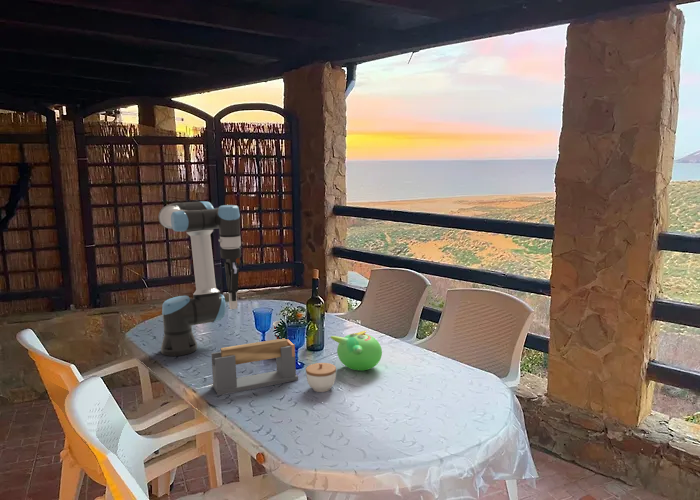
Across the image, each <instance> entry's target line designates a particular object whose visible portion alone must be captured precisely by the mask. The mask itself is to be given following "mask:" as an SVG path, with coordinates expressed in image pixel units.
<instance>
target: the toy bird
mask: <svg viewBox="0 0 700 500" xmlns="http://www.w3.org/2000/svg"><path fill="white" fill-rule="evenodd" d="M366 332H367V330H362V331H358V332H354V333H350V334H347V335H345V336H344V337H343V336H342V337H341V336H338V335H337V336H336V335H331V336H330V339H332V340H333V341H334V342H336V343H338V345H337V349H336V354H337V357H338V359H339V361H340V363H342V364H343V365H344V366H345V367H346V368H348V369H350V370H353V371H358V372H359V371H368V370H370V369H373V368H374V367H376V366H377V365H378V363H380V361H381V359H382V356H383V355H382V354H383V351H382V345H381V344H380V342H379V341H378V340H377V339H376V338H375V337H374V336H372V335H370V334H368V333H366Z"/></svg>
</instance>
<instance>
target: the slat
mask: <svg viewBox="0 0 700 500" xmlns="http://www.w3.org/2000/svg"><path fill="white" fill-rule="evenodd" d="M286 346H288V343H287V339H285V338H282V339H277V338H276V339H271V340H263V341H257V342H251V343H244V344H239V345H237V344H236V345H232V346H226V347H221V348H220V352H221V357H225V356H231V355H235V361H236V366H237V365H242V364H247V363H252V362H259V361H265V360H270V359H276V358H278V357H281V350H280V347H286Z"/></svg>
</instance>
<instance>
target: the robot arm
mask: <svg viewBox="0 0 700 500" xmlns="http://www.w3.org/2000/svg"><path fill="white" fill-rule="evenodd" d="M240 217H241V214H240V208H239V206H238V205H235V204H223V205H220V206H218V207H215V208H214V206H213V204H212V203H211V202H209V201H200V200H199V201H186V202H173V203H169V204H167V205H165V206H163V207H162V208H161V210H159V213H158V222H159V224H160V225H161V226H162V227H164V228H166V229H170V230H173V231H174V232H182V233H183V232H186V234H187V235H188V236H189V237H190V242H191V254H192V260H193V262H192V263H193V271H194V280H195V281H194V282H195V291H194V293H192V294H193V295H192V296H193V298H190V297H189V295H179V296H174V297H172V298H171V297H170V298H168V299H166V300H164V302H163V303H162V305H161V307H162V308H161V309H162V311H161V315H162V322H163V323H162V324H163V337H162V338H163V339H162V342H161V347H160V350H161V351H160V352H161V354H162V355H164V356H167V357H168V356H169V357H177V356H184V355H189V354H192V353H194V352H196V351H197V350H198V343H197V340H196V338H195V336H194V333H193V329H192V327H193V326H196V325H203V324H209V323H215V322H221V321H222V320H223V319H224V317H225V315H226V314H225V313H226V308H227V307H226V300H225V299H226V298H225V295H224V294H222V293H221V291H220V290H219V289H218V288H217V285H216V277H215V265H214V258H213V257H214V255H213V249H212V248H213V247H212V237H211V234H212V233H213V232H214V229H219V238H218V242H219V244H220V245H219V247H220V250H219V251H220V254H219V255H220V259H223V260H225V262H224V264H223V265H224V269H225V270H224V271H225V278H226V289H227V293H228V303H229V305H228V306H229V310H238V292H239V274H240V273H239V272H240V268H239V264H238V262H237V259H239V258H241V257H242V248H241V246H242V240H241V239H242V238H241V227H240V226H241V224H240V222H241V221H240Z"/></svg>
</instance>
